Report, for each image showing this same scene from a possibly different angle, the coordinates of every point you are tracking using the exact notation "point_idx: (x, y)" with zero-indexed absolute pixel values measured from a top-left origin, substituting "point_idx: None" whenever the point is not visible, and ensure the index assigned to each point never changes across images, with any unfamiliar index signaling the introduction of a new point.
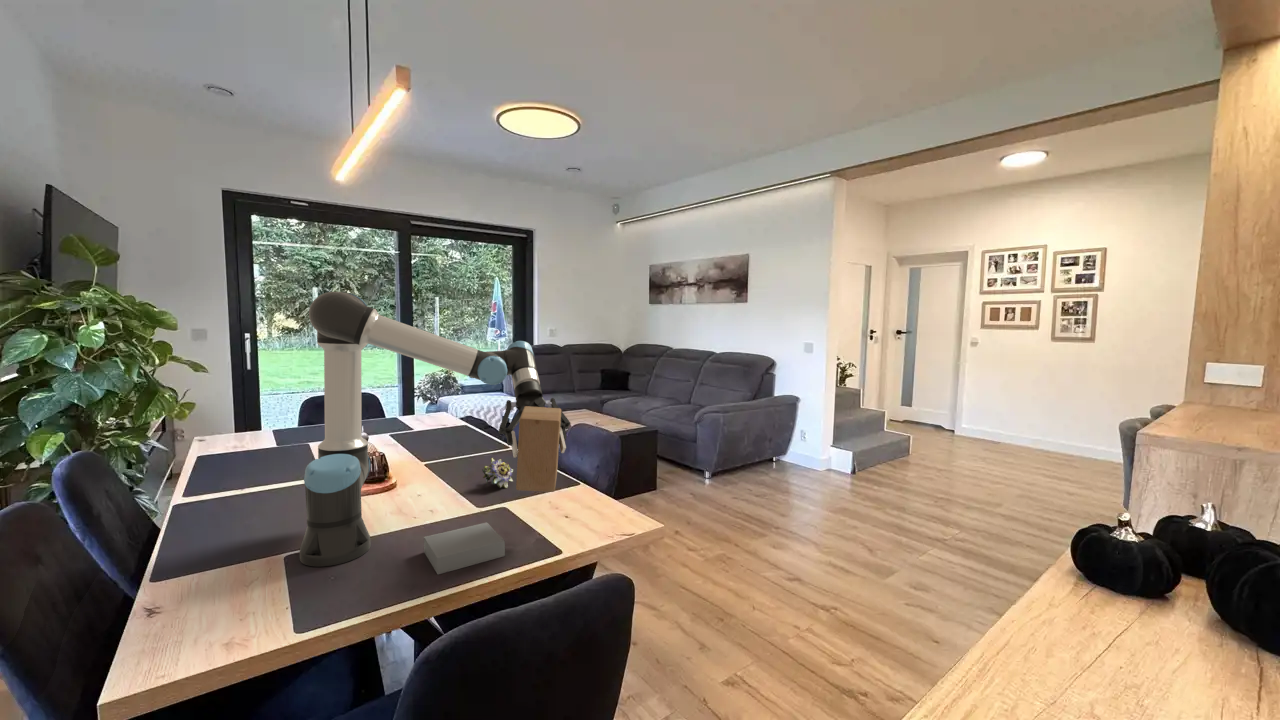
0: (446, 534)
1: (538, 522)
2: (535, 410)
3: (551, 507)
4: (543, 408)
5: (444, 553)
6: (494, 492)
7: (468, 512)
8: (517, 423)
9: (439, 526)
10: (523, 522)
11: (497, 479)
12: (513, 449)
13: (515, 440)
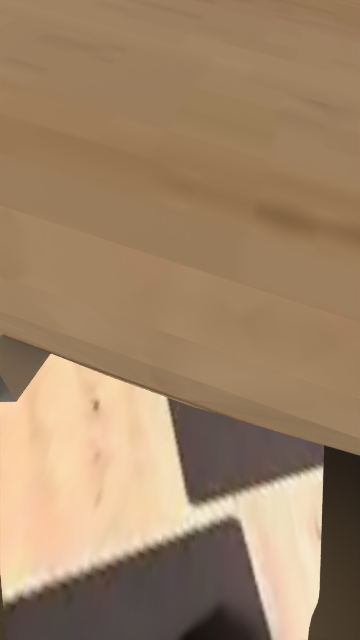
0: None
1: (149, 399)
2: (296, 63)
3: (106, 464)
4: (27, 107)
5: None
6: (197, 619)
7: (256, 497)
8: (329, 491)
9: (300, 446)
10: (173, 409)
11: None
12: None
13: None
